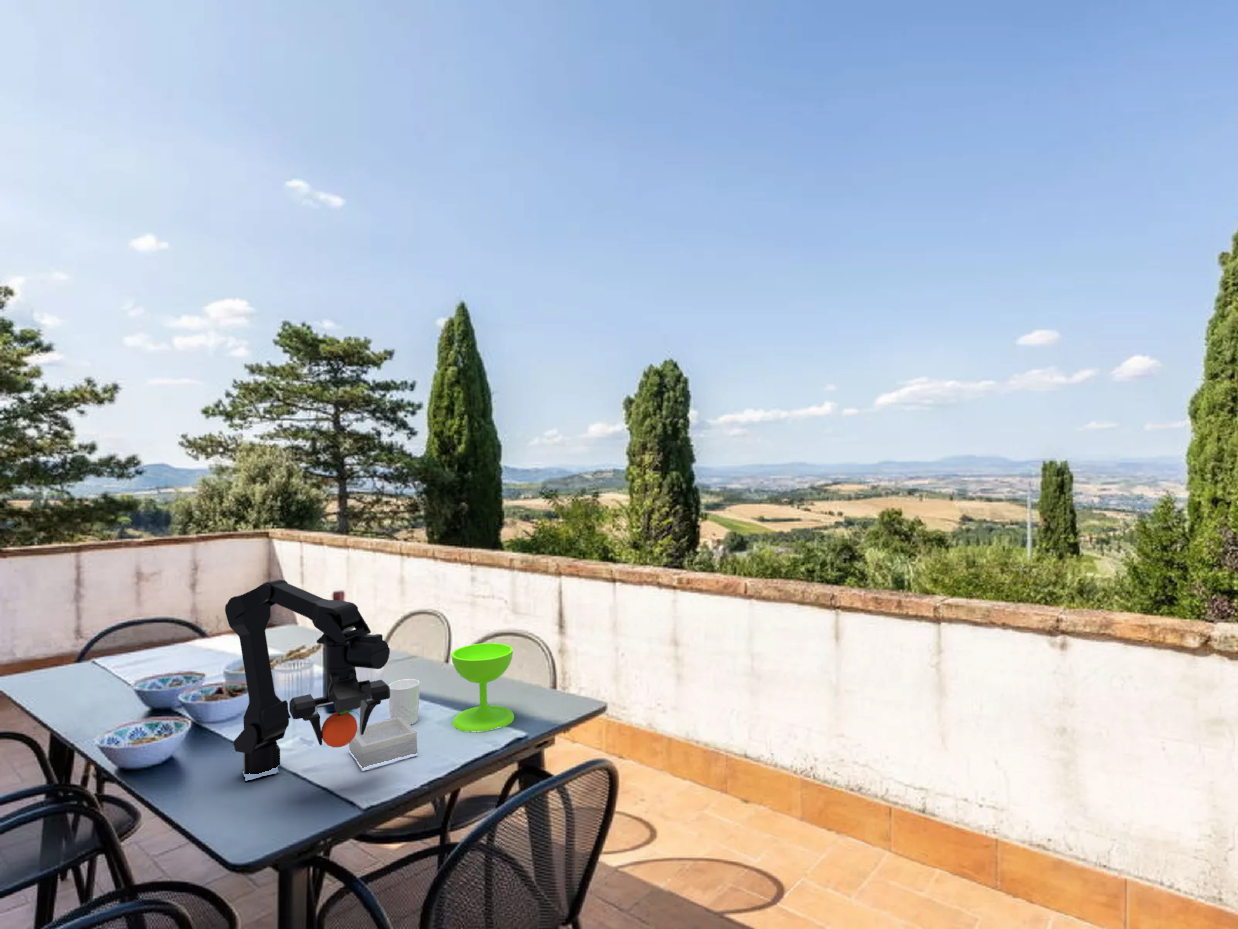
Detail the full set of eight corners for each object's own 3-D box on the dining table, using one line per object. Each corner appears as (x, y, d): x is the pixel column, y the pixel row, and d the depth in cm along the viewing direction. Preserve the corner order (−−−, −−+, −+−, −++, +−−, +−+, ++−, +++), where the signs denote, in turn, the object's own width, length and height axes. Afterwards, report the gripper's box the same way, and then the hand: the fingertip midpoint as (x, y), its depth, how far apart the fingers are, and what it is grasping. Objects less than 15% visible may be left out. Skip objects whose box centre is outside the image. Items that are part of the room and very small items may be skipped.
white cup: (426, 717, 166) (425, 680, 167) (408, 729, 159) (407, 690, 159) (400, 715, 169) (400, 678, 169) (382, 726, 161) (381, 688, 161)
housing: (362, 771, 136) (362, 746, 137) (349, 752, 146) (348, 729, 146) (417, 756, 144) (416, 732, 144) (400, 738, 153) (400, 716, 153)
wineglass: (439, 725, 161) (437, 656, 161) (480, 704, 175) (479, 640, 175) (487, 736, 153) (486, 663, 154) (526, 713, 167) (525, 646, 168)
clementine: (352, 734, 136) (352, 701, 136) (368, 742, 131) (368, 709, 131) (315, 747, 129) (314, 713, 130) (330, 756, 125) (330, 721, 125)
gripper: (297, 684, 118) (298, 766, 118) (397, 665, 129) (398, 740, 129) (288, 670, 127) (289, 746, 127) (382, 653, 138) (383, 723, 138)
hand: (341, 739), depth 130 cm, fingers closed on clementine, 8 cm apart
